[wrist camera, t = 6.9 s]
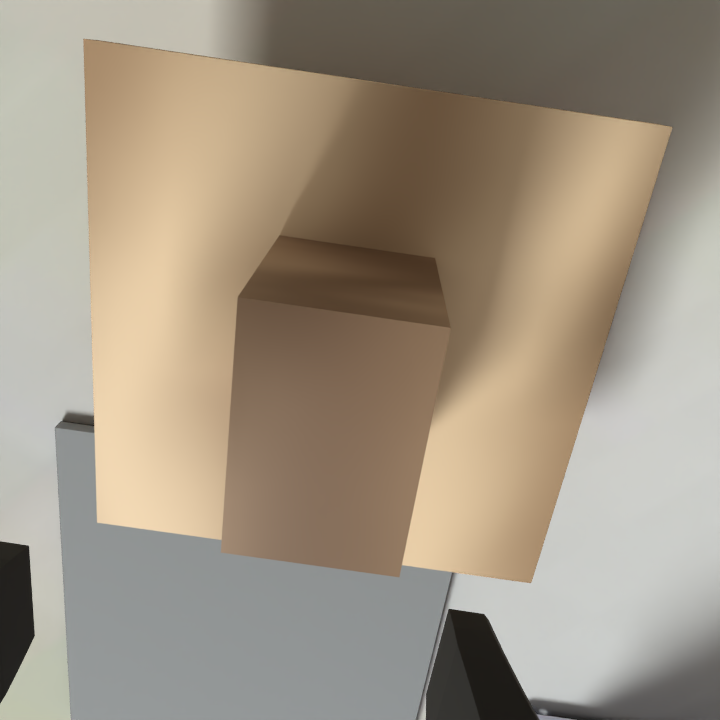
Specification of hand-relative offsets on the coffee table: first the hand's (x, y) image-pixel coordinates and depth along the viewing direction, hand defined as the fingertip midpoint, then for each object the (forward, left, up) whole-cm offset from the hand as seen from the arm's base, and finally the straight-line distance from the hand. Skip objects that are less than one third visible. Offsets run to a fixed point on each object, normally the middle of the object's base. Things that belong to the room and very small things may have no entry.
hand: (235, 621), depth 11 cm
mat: (+1, +9, -9) cm, 13 cm away
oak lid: (-1, -3, -6) cm, 6 cm away
